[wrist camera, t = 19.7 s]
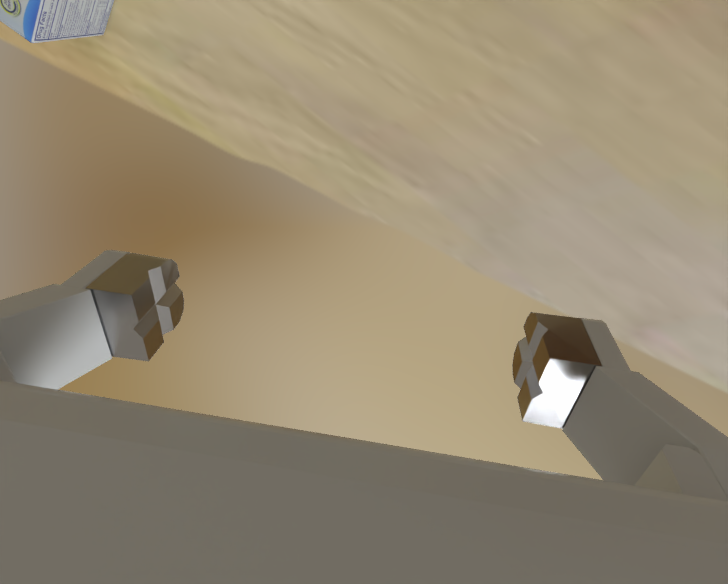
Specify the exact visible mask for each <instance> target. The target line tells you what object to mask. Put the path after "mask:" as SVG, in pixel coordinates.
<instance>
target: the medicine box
mask: <svg viewBox="0 0 728 584" xmlns="http://www.w3.org/2000/svg"><path fill="white" fill-rule="evenodd" d="M113 2H114V0H0V21H1V22H3V23H4V24H6V25H7V26H8V27H10V28H11V29H13V30H14V31H16V32H17V33H18V34H20V35H21V36H22V37H24V38H25V39H27V40H28V41H29V42H31V43H39V42H48V41H56V40H64V39H73V38H81V37H90V36H98V35H103V34H104V32H105V28H106V25H107V22H108V18H109V15H110V12H111V9H112V5H113Z"/></svg>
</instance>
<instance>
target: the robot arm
mask: <svg viewBox="0 0 728 584" xmlns="http://www.w3.org/2000/svg"><path fill="white" fill-rule="evenodd" d="M178 277H179V271H178V267H177V264H176V263H175V262H174V261H173V260H172V259H166V258H160V257H153V256H148V255H142V254H136V253H129V252H123V251H115V250H107V251H104V252H103V253H102V254H100V255H99V256H98V257H96V258H95V259H94V260H93V261H91V262H90V263H89V264H87V265H86V266H85V267H83V268H82V269H81V270H79V271H78V272H77V273H75V274H74V275H73V276H72V277H70V278H69V279H68V280H66V281H65V282H64V283H62V284H61V285H57V284H52V285H49V286H46V287H42V288H39V289H36V290H32V291H29V292H26V293H22V294H19V295H16V296H12V297H10V298H6V299H3V300H0V584H728V437H727V436H725V435H724V434H723V433H721V432H720V431H718V430H717V429H716V428H714V427H713V426H712V425H710V424H709V423H707V422H706V421H705V420H703V419H702V418H701V417H699V416H698V415H696V414H695V413H694V412H692V411H691V410H689V409H688V408H687V407H685V406H684V405H683V404H681V403H680V402H678V401H677V400H676V399H674V398H673V397H672V396H670V395H669V394H667V393H666V392H665V391H663V390H662V389H661V388H659V387H658V386H657V385H655V384H654V383H652V382H651V381H650V380H648V379H647V378H645V377H644V376H643V375H641V374H640V373H638V372H633V371H630V369H629V367H628V365H627V363H626V361H625V359H624V357H623V355H622V353H621V352H620V350H619V348H618V346H617V344H616V342H615V340H614V338H613V336H612V334H611V333H610V331H609V329H608V327H607V325H606V323H604V322H603V321H601V320H593V319H584V318H573V317H565V316H557V315H549V314H541V313H533V312H531V313H530V314H529V316H528V317H527V319H526V322H525V324H524V330H525V334H526V337H525V338H523V339H522V340H520V341H519V342H518V344H517V347H516V350H515V353H514V358H513V378H514V382H515V384H516V385H518V386H519V387H520V389H521V390H520V392H519V395H518V403H519V407H520V412H521V416H522V421H524V422H530V423H535V424H540V425H546V426H551V427H556V428H562V429H563V432H564V433H565V434H566V435H567V437H568V438H569V439H570V440H571V441H572V442H573V444H574V445H575V446H576V447H577V449H578V450H579V451H580V452H581V453H582V455H583V456H584V457H585V458H586V459H587V461H588V462H589V463H590V464H591V466H592V467H593V468H594V469H595V470H596V472H597V473H598V474H599V475H600V476H601V478H602V479H603V480H604V481H603V480H597V479H591V478H585V477H579V476H573V475H567V474H561V473H555V472H548V471H542V470H536V469H530V468H524V467H518V466H512V465H506V464H500V463H494V462H488V461H482V460H476V459H470V458H464V457H458V456H452V455H447V454H440V453H435V452H429V451H423V450H417V449H411V448H404V447H399V446H393V445H387V444H381V443H375V442H369V441H363V440H357V439H351V438H345V437H339V436H333V435H327V434H321V433H315V432H308V431H303V430H296V429H290V428H284V427H279V426H273V425H267V424H261V423H255V422H248V421H242V420H236V419H230V418H224V417H218V416H212V415H206V414H200V413H194V412H188V411H182V410H176V409H170V408H164V407H158V406H152V405H146V404H139V403H134V402H128V401H122V400H116V399H110V398H104V397H98V396H92V395H86V394H80V393H74V392H68V391H62V390H58V389H59V388H61V387H63V386H64V385H66V384H68V383H70V382H71V381H73V380H75V379H77V378H78V377H80V376H82V375H84V374H85V373H87V372H89V371H91V370H92V369H94V368H96V367H98V366H99V365H101V364H103V363H105V362H106V361H108V360H110V359H112V356H113V357H120V358H128V359H136V360H143V361H149V360H150V359H151V358H152V356H153V355H154V354H155V353H156V351H157V350H158V349H159V348H160V346H161V345H162V344H163V343H164V340H163V334H165V333H167V332H169V331H171V330H174V328H175V327H176V326H177V324H178V323H179V321H180V319H181V316H182V313H183V309H184V298H183V292H182V291H181V290H180V289H179V287H178V286H177V285H176V284H175V282H176V280H177V279H178Z"/></svg>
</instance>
